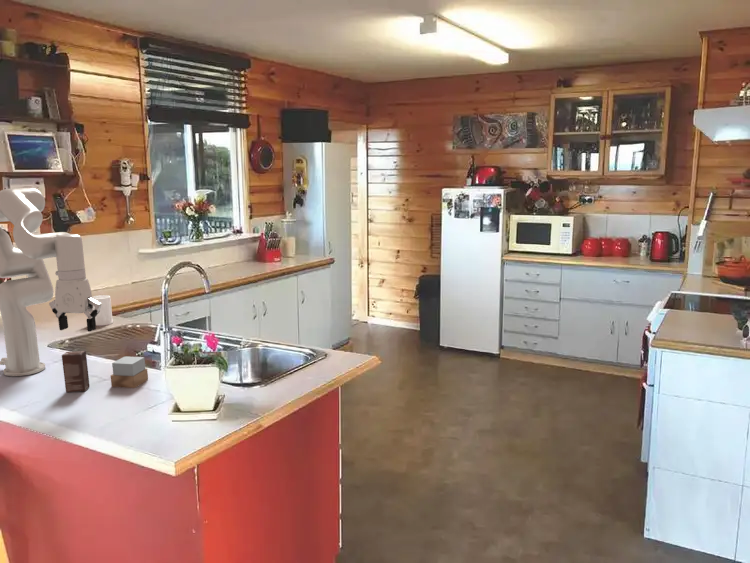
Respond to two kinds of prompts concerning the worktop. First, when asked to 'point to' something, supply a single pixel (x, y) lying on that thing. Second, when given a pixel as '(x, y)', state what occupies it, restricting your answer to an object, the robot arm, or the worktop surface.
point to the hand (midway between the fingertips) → (77, 329)
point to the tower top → (128, 366)
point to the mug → (103, 310)
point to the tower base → (129, 380)
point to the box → (75, 371)
